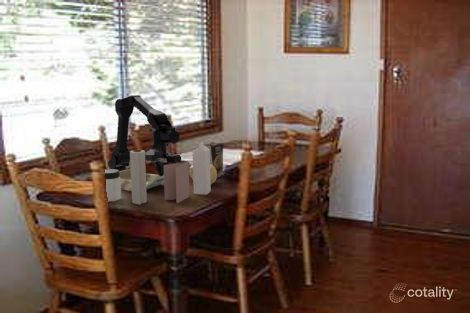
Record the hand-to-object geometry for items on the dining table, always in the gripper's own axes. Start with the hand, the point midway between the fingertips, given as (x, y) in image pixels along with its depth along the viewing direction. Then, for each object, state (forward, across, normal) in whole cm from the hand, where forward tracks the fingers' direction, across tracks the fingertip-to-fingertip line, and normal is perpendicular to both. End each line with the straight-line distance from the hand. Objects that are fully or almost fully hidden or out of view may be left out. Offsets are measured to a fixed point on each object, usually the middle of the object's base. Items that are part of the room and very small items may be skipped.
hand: (161, 176), depth 261 cm
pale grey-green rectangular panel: (+6, -6, 0) cm, 9 cm away
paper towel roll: (+6, +4, -22) cm, 23 cm away
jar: (+6, -10, -23) cm, 26 cm away
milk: (+7, +18, +4) cm, 20 cm away
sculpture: (+6, +10, +18) cm, 22 cm away
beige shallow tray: (+6, -15, 0) cm, 16 cm away
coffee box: (+6, +5, +34) cm, 35 cm away
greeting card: (+7, +17, -11) cm, 22 cm away
